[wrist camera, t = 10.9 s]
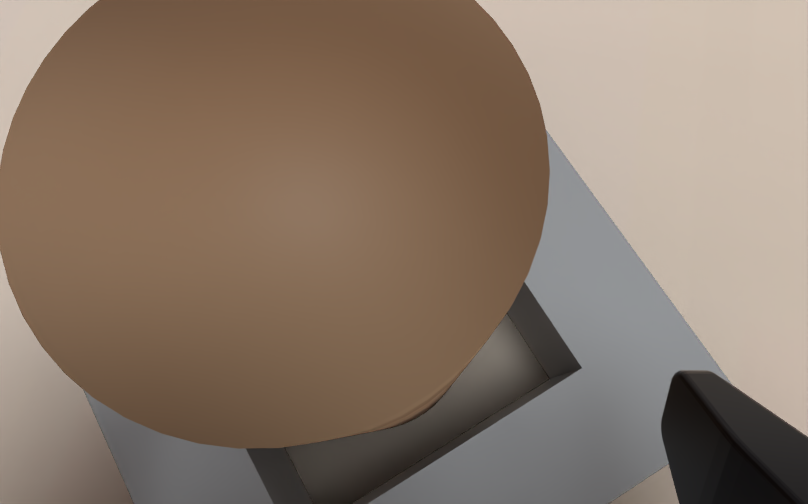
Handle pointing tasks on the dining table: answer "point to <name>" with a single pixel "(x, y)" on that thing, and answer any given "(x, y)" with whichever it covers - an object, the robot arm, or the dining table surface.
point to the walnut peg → (272, 209)
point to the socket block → (514, 424)
